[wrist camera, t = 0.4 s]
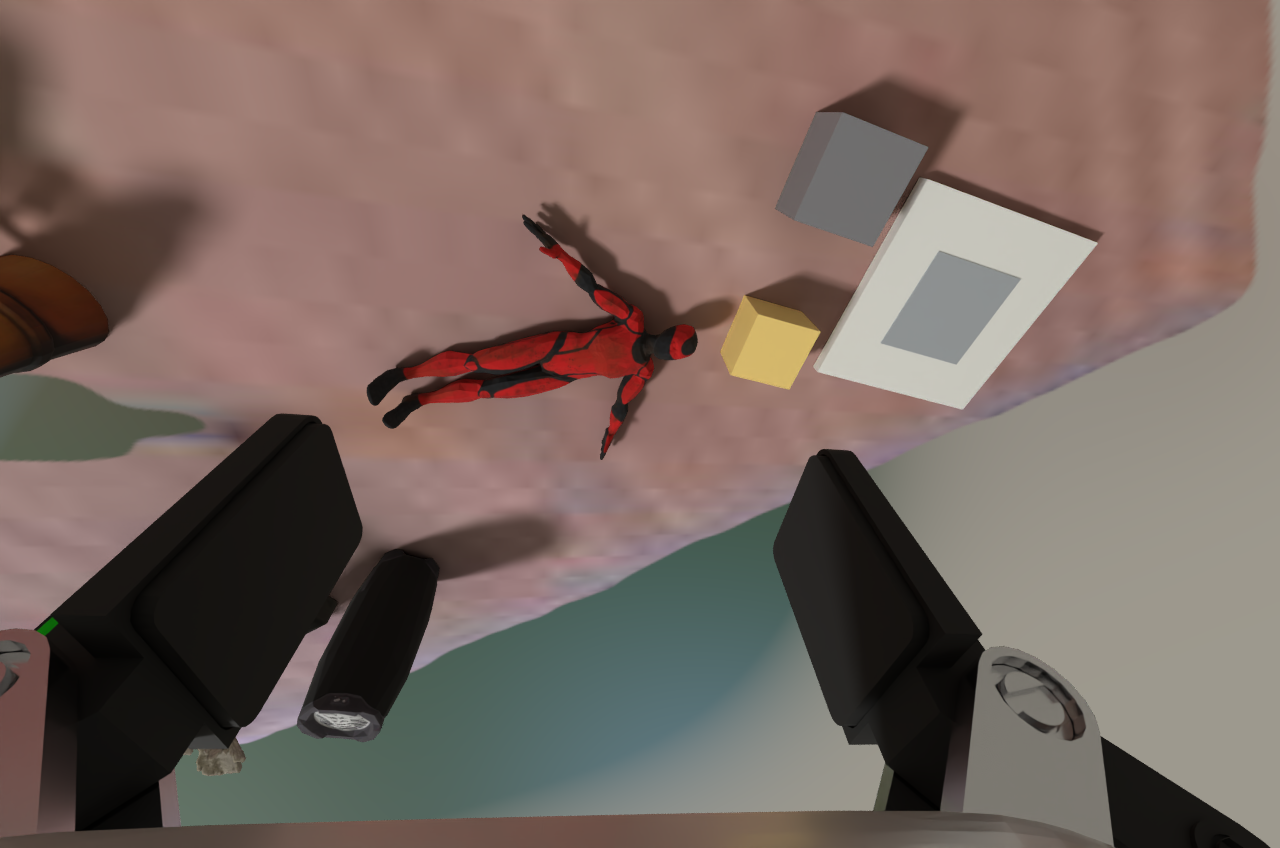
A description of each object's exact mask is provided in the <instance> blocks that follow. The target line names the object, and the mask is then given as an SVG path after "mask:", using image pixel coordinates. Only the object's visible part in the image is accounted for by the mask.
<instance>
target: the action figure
mask: <svg viewBox="0 0 1280 848" xmlns="http://www.w3.org/2000/svg"><path fill="white" fill-rule="evenodd" d="M522 218H523V220H524V222H523V223H524V225H525V226H526V227H527V229H528V230H529V231H530V232H531V233H533V234H534V235H535V236H536V237H537V238H538V239H539V240H540V241H541V242H542V243H543V245H544V246H545V247H546V248H545V247H540V248H539V250H540V251H541V252H542V253H544V254H547V255H549V256H550V257H552V258H557V259H559V260H560V261H561V262H562V263H563V264H564V266H565V268H566V270H567V272H568V273H569V275H570V276H571V277H572V279H573V280H574V281H575V283H576V284H577V285H578V286H579V287H580V288H582V289H583V290H585V291H586V292H588V293H589V296H590V297H591V299H592V300H593V302H594V303H595V304H596V305H597V306H599V307H600V308H601V309H602V310H604V311H606V312H608V313H610V314H612V315H613V316H614V319H613V320H612V321H611V322H608V323H605V324H603V325H600V326H598V327H595V328H594V329H593V330H591V331H589V332H586V333H576V332H565V331H553V332H547V333H544V334H540V335H536V336H532V337H528V338H524V339H520V340H516V341H512V342H508V343H505V344H501V345H498V346H494V347H490V348H487V349H484V350H480V351H478V352H476V353H475V354H467V353H460V352H454V351H446V352H442V353H440V354H438V355H436V356H434V357H432V358H431V359H429V360H427V361H426V362H424V363H423V364H421V365H418V366H415V367H411V368H395V369H391V370H387V371H385V372H384V373H383V374H382V375H380V376H378V377H377V378H376V379H375V380H373V382H371V383H370V384H369V385H368V387H367V396H368V399H369V401H370V403H371V404H372V405H374V406H376V405H378V404H379V403H380V402H381V401H382V399H383V398H384V397H385V396H386V395H387V393H388V392H389V391H390V390H392V389H393V388H394V387H395V386H396V385H397V384H398V383H399V382H401V381H404V380H408V379H412V378H417V377H425V376H441V377H446V376H456V375H459V374H463V373H466V372H470V371H473V372H475V373H490V374H495V375H497V374H507V373H510V374H507V375H503V376H499V377H495V378H490V379H487V380H472V379H461V380H457V381H455V382H452V383H450V384H448V385H446V386H445V387H443V388H441V389H439V390H437V391H433V392H430V393H414V394H411V395H407V396H405V397H404V398H403V399H402V403H400V404H399V405H398V406H397V407H396V408H395V409H393V410H391V411H389V412H387V413H386V414H385V415H384V417H383V419H382V421H383V423H384V425H385V426H387V427H388V428H391V429H394V428H396V427H397V426H399V425H400V423H401V422H403V421H404V420H405V419H406V418H407V416H408V415H409V414H410V413H411V412H413V411H414V410H416V409H418V408H420V407H421V406H423V405H425V404H428V403H450V402H454V403H460V402H471V401H474V400H476V399H479V398H516V397H525V396H530V395H534V394H539V393H543V392H546V391H550V390H553V389H556V388H560V387H562V386H564V385H567V384H568V383H570V382H572V381H574V380H577V379H580V378H587V377H591V376H596V375H603V376H606V377H608V378H619V377H622V376H624V378H623V380H622V382H621V384H620V386H619V389H618V392H617V400H616V403H615V404H614V405H613V406H612V409H611V414H610V426H609V427H608V428H606V431H605V435H604V438H603V440H602V447H601V451H602V452H601V454H600V459H601V460H602V459H603V458H604V456H605V454H606V452H607V450H608V448H609V446H610V444H611V441H612V439H613V436H614V435H615V433H616V431H617V430H618V428H619V427H620V426H621V424H622V423H623V421H624V418H625V416H626V414H627V412H628V402H629V401H631V400H632V399H633V398H635V396H636V395H637V394H638V393H639V392H640V391H641V390H642V388H643V386H644V385H645V383H646V381H647V380H648V379H649V378H650V377H651V376H652V373H653V370H654V365H653V361H652V359H651V357H650V356H651V354H652V353H654V356H655V357H657V358H658V359H663V360H677V359H682V358H685V357H688V356H690V355H692V354H693V353H694V351H695V350H696V347H697V343H698V339H697V335H696V331H695V329H694V328H693V327H692V326H689V325H685V324H683V325H677V326H674V327H671V328H669V329H667V330H665V331H664V332H663V333H661V334H658V335H650V334H648V333H647V332H646V330H645V328H644V316H643V312H641V311H640V310H639V309H638V308H637V307H636V306H634V305H632V304H629V303H627V302H626V301H625V300H624V299H623V298H622V297H621V296H619V295H618V294H616V293H614V292H612V291H610V290H609V289H607V288H605V287H603V286H601V285H599V284H597V283H596V281H595V279H594V276H593V274H592V273H591V272H590V271H589V270H588V269H587V268H586V267H585V266H584V265H582V264H581V263H580V262H579V261H577V260H576V259H574V258H573V257H571V256H570V255H568V254H567V253H566V252H565V251H564V250H563V249H562V248H561V247H560V245H559V244H558V243H557V242H556V241H555V240H554V239H553V238H552V237H551V236H550V235H548V234H546V233H545V232H544V231H543V230H542V229H541V227H539V226H538V225H537V224H535V223H534V222H533V221H532V220H531V219H530V218H528V217H526V216H525V215H522ZM538 363H540V365H537V366H534V367H532V368H529V367H531V366H533V365H535V364H538ZM526 368H529V369H526ZM522 369H526V370H522ZM518 370H522V371H518ZM515 371H518V372H515ZM511 372H514V373H511Z"/></svg>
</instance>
